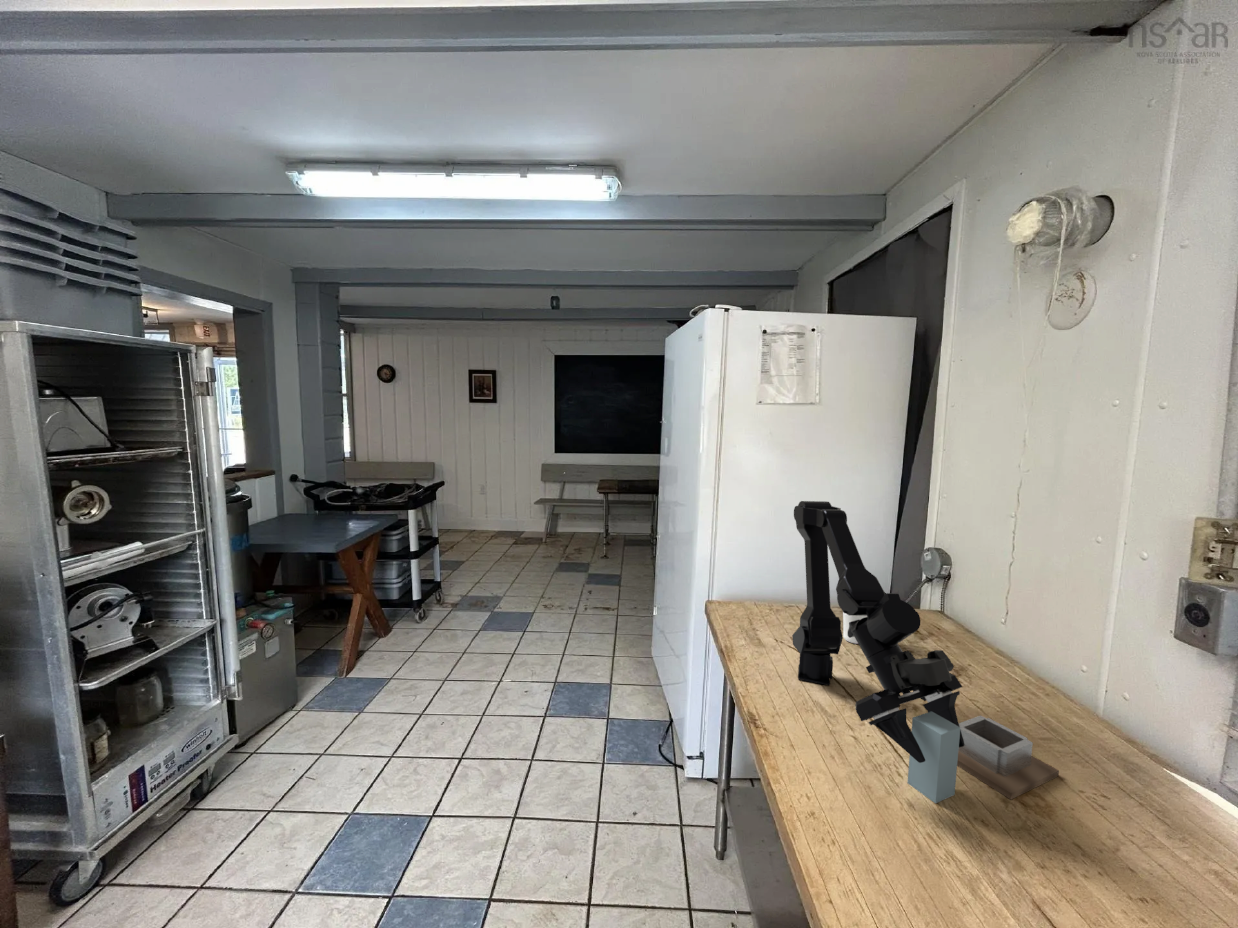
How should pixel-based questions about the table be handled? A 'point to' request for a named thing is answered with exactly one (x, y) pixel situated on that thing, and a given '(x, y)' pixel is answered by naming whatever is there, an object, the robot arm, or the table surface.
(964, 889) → the table surface
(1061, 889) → the table surface
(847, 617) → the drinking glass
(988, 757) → the docking socket
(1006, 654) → the table surface
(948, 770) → the light blue pillar
